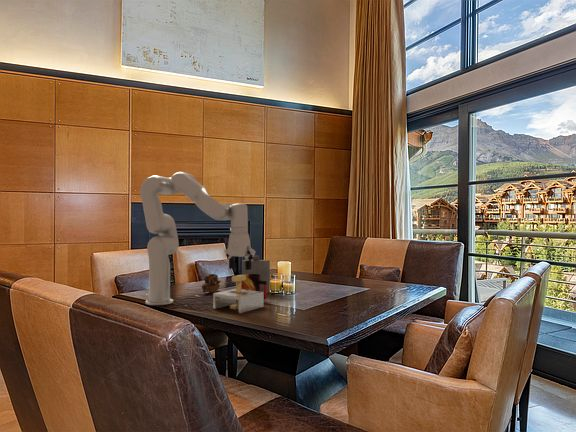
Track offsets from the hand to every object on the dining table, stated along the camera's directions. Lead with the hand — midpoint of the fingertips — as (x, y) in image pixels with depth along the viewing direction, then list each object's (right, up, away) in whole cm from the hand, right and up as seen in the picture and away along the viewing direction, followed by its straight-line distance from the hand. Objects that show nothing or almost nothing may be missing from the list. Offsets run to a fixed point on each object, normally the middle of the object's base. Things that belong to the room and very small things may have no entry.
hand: (240, 269), depth 189 cm
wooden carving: (-20, -18, +38) cm, 46 cm away
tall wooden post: (-1, -18, 0) cm, 17 cm away
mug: (+5, -18, +19) cm, 27 cm away
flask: (+4, -18, +38) cm, 42 cm away
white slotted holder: (-1, -17, 0) cm, 17 cm away
